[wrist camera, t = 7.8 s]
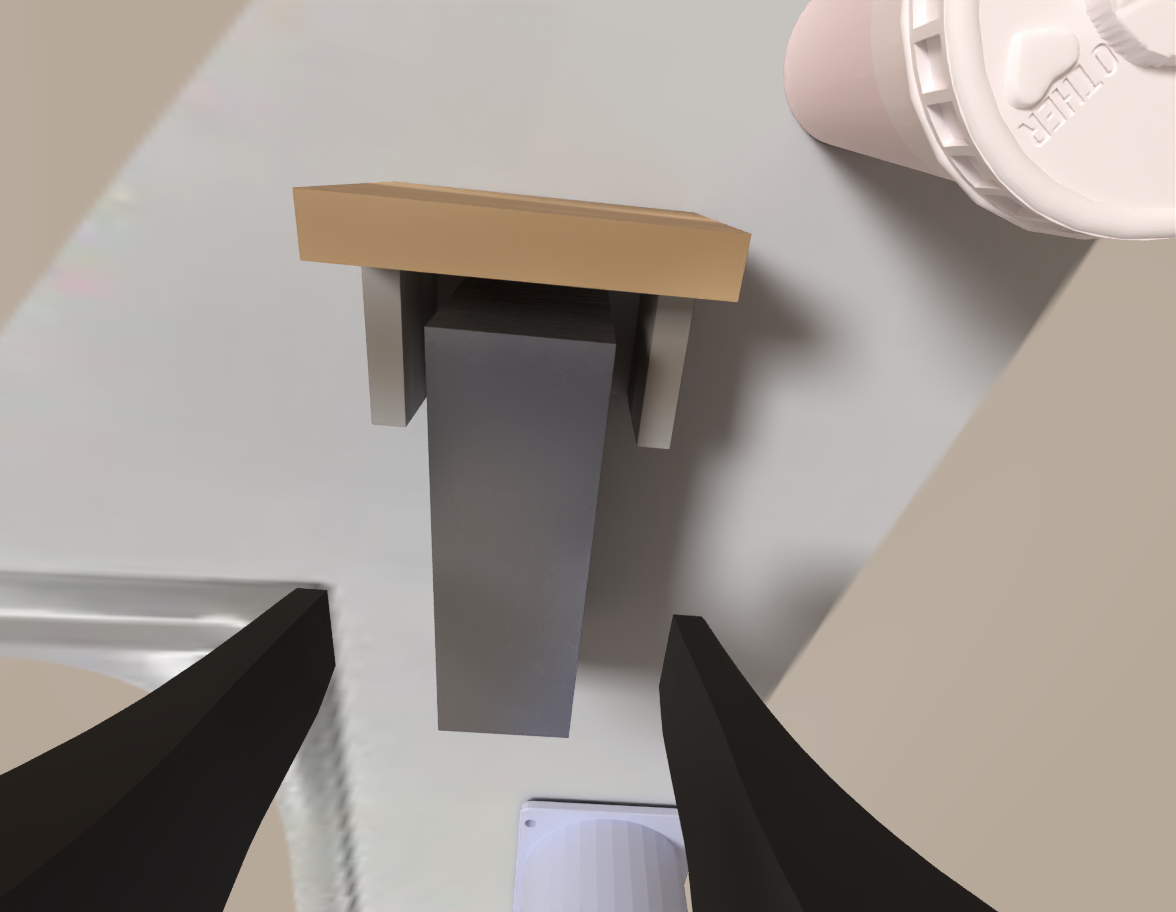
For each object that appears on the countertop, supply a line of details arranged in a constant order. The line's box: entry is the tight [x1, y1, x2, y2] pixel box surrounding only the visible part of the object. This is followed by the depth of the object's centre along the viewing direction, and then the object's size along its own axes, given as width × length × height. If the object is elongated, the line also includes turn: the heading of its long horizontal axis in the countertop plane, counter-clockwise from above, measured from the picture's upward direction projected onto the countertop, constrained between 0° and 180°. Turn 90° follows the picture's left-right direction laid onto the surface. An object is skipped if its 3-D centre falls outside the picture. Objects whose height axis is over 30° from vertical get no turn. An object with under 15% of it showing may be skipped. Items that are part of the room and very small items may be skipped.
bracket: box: [293, 182, 751, 449], centre depth 14 cm, size 5×8×6 cm, turn 85°
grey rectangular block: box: [424, 276, 616, 738], centre depth 17 cm, size 12×4×5 cm, turn 175°
